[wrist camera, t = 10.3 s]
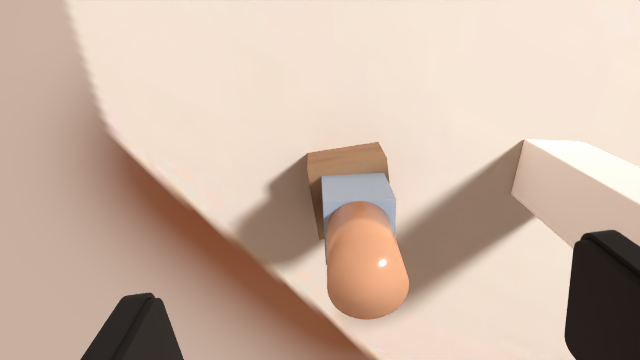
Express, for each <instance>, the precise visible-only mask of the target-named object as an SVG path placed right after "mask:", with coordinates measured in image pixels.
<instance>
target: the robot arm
mask: <svg viewBox="0 0 640 360" xmlns="http://www.w3.org/2000/svg"><path fill="white" fill-rule="evenodd" d="M565 342H566V345H567V347H568V349H569V351H570V352H571V354H572V355H573V356H574V358H575V359H576V360H640V246H638V245H637V244H635V243H634V242H633V241H631V240H630V239H628V238H627V237H625V236H624V235H623V234H621V233H620V232H618V231H616V230H605V231H597V232H590V233H585V234H583V235H582V237H581V239H580V241H577V242H576V243H575V244H574V249H573V259H572V268H571V278H570V287H569V297H568V306H567V316H566V325H565ZM81 360H184V359H183V356H182V354H181V351H180V348H179V346H178V343H177V340H176V337H175V335H174V332H173V328H172V326H171V323H170V320H169V317H168V315H167V313H166V309H165V306H164V304H163V301H162V300H161V299H160V298H155V297H154V295H153V294H152V293H143V294H135V295H128V296H124V297H123V298H122V299H121V300H120V301H119V303H118V304H117V306H116V307H115V309H114V310H113V312H112V313H111V315H110V316H109V318H108V319H107V321H106V322H105V324H104V325H103V327H102V328H101V330H100V331H99V333H98V334H97V336H96V337H95V339H94V340H93V342H92V343H91V345H90V346H89V348H88V349H87V351H86V352H85V354H84V355H83V357H82V358H81Z"/></svg>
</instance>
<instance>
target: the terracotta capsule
mask: <svg viewBox="0 0 640 360" xmlns="http://www.w3.org/2000/svg"><path fill="white" fill-rule="evenodd" d="M326 232H327V289H328V294H329V297H330V300H331V301H332V303H333V304H334V306H335V307H336V308H337V309H338V310H340V311H341V312H342V313H344V314H346V315H348V316H351V317H354V318H358V319H375V318H380V317H383V316H385V315H388V314H390V313H392V312H393V311H394V310H396V309H397V308H398V307H399V306H400V305H401V304H402V303H403V301H404V300H405V298H406V296H407V294H408V290H409V279H408V275H407V272H406V269H405V266H404V263H403V260H402V257H401V253H400V250H399V247H398V244H397V241H396V238H395V235H394V232H393V229H392V226H391V222H390V219H389V217H388V215H387V214H386V213H385V211H384V210H383V209H381V208H380V207H379V206H377V205H375V204H373V203H370V202H365V201H354V202H350V203H347V204H344V205H342V206H341V207H339V208H338V209H337V210H335V211H334V213H333V214H332V215H331V217H330V218H329V220H328V223H327V230H326Z"/></svg>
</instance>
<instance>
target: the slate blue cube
mask: <svg viewBox="0 0 640 360" xmlns="http://www.w3.org/2000/svg"><path fill="white" fill-rule="evenodd" d="M322 197H323V216H324V236H325V256H326V265H327V232H326V230H327V223H328V220H329V218H330V217H331V215H332V214H333V213H334V211H335V210H337V209H338V208H339V207H341V206H342V205H344V204H347V203H350V202H354V201H365V202H370V203H373V204H375V205H377V206H379V207H380V208H381V209H383V210H384V211H385V213H386V214H387V215H388V217H389V219H390V222H391V226H392V229H393V232H394V235H395V216H396V198H395V196H394V194H393V191H392V189H391V187H390V185H389V183H388V180H387V178H386V176H385V174H384V173H371V174H352V175H332V176H322Z"/></svg>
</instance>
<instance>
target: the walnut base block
mask: <svg viewBox="0 0 640 360" xmlns="http://www.w3.org/2000/svg"><path fill="white" fill-rule="evenodd" d="M307 173H308V178H309V184H310V189H311V195H312V200H313V206H314V211H315V217H316V222H317V228H318V233H319V239H325V236H324V216H323V197H322V176H332V175H352V174H371V173H384V174H385V176H386V178H387V180H388V183H389V175H388V165H387V158H386V156H385V154H384V152H383V150H382V148H381V146H380V145H379V143H378V142H376V143H369V144H363V145H356V146H350V147H344V148H337V149H331V150H324V151H318V152H312V153H308V154H307Z"/></svg>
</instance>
